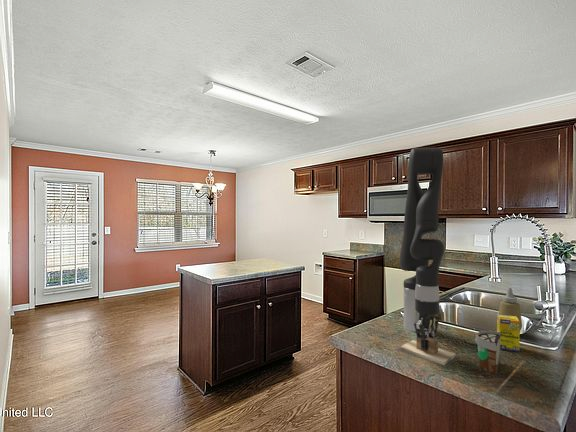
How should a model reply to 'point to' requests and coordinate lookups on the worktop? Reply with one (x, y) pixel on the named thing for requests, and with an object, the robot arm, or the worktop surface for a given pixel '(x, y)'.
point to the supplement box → (508, 332)
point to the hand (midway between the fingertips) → (427, 348)
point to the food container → (488, 350)
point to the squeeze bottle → (510, 306)
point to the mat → (432, 361)
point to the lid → (429, 351)
